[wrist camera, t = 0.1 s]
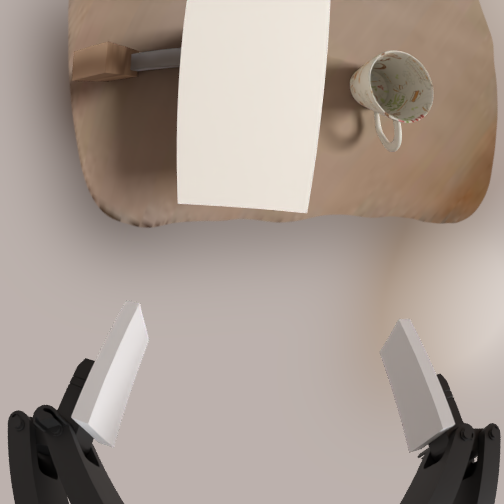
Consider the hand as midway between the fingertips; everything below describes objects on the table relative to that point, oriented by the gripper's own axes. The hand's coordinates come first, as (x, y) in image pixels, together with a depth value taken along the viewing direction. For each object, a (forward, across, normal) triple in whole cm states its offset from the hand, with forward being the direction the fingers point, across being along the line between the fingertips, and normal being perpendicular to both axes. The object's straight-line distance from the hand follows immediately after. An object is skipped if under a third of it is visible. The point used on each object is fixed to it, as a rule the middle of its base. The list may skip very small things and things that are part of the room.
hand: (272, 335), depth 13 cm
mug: (+28, +14, +13) cm, 34 cm away
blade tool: (+28, -16, +17) cm, 36 cm away
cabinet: (+28, -2, +12) cm, 30 cm away
